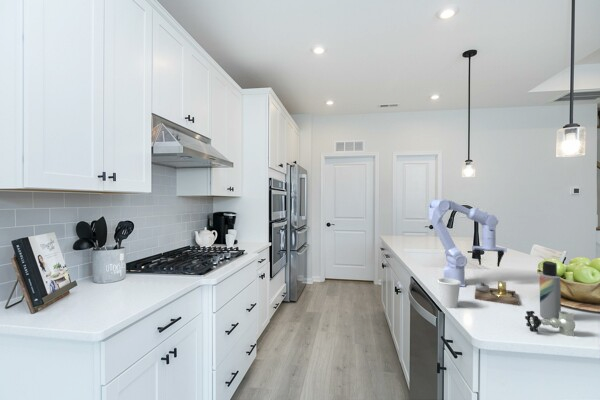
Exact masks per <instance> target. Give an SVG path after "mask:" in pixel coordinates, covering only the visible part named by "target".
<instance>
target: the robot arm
mask: <svg viewBox="0 0 600 400" xmlns="http://www.w3.org/2000/svg"><path fill="white" fill-rule="evenodd" d="M428 209H429V213H428V214H429V215H428V219H429V222H430V223H431V225H432V227H433V230H434V231H435V233H436V235H437V237H438V238H439V241H440V243H441V245H442V246H443V248H444V255H445V260H446V261H447V263H448V265H446V264H445V265H443V278H449V279H455V280H458V281H460V282H461V284H460V287H463V288H466V284H467V282H466V280H465V278H466V277H465V266H467V263H468V260H467V259H468V258H467V257H466V256H465V255H463V253H462V251H460V249H458V248H457V246H456V244H455V242H454V240H453V239H452V236H451V235H450V233H449V231H448V229H447V226H446V225H445V223H444V221H443V217H444V215H445V214H446V213H447V212H448V211H451V210H453V211H454V212H458V213H461V214H463V215H466V217H467V219H470V220H472V221H473V222H477V223H479V224H480V225H481V245H471V250H472V251H474V253H475V255H476V257H477V260H478V264H479V265H478V266H481V265H482V261H481V259H482V258H481V252H482V251H484V252H485V251H487V252H497V263H496V265H497V267H500V263H501V261H502V258H503V256H504V255H505V253H507V249H508V248H507V247H499V246H496V245H497V243H496V228H497V225H498V223H499V220H498V218H497V217H496V216H495V215H494V214H489V213H488V212H486V211H482V210H479V207H472V208H468V207H466V206H464V205H462V204H459V203H457V202H455V201H452V200H448V199H445V198H441V199H438V198H433V200H431V201H430V203H429V206H428Z"/></svg>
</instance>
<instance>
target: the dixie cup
mask: <svg viewBox="0 0 600 400" xmlns="http://www.w3.org/2000/svg"><path fill="white" fill-rule="evenodd" d="M437 282H438V283H437V284H438V289H439V296H440V304H441V306H442V307H444V308H448V309H457V308H458V304H459V303H458V302H459V297H460V296H459V295H460V288H461V286H460V284H461V282H460V281H458V280H455V279H449V278H438V279H437Z"/></svg>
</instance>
